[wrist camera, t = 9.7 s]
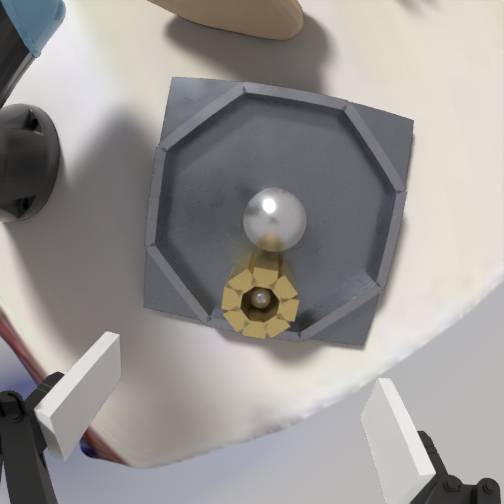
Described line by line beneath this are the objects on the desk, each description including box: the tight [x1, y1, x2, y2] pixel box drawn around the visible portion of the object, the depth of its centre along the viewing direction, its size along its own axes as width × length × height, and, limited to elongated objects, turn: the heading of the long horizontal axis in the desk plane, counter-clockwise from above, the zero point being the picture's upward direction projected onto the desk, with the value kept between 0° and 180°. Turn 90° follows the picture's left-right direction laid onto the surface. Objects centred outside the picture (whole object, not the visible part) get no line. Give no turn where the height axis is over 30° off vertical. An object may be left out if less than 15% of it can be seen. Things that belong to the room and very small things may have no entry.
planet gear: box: [221, 250, 299, 339], centre depth 28 cm, size 6×6×6 cm
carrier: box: [143, 77, 414, 346], centre depth 28 cm, size 24×24×6 cm
